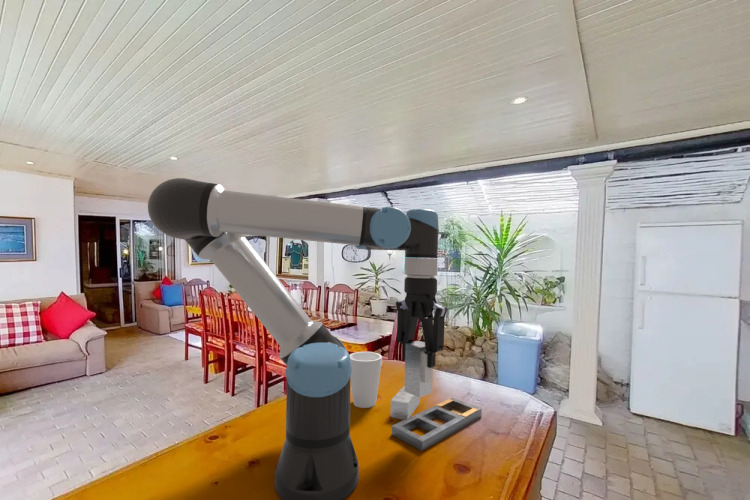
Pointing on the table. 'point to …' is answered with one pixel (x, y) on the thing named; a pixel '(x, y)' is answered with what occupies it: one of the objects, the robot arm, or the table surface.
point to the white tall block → (415, 370)
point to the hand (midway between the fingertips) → (418, 377)
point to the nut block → (403, 405)
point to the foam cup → (365, 378)
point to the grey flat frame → (447, 410)
